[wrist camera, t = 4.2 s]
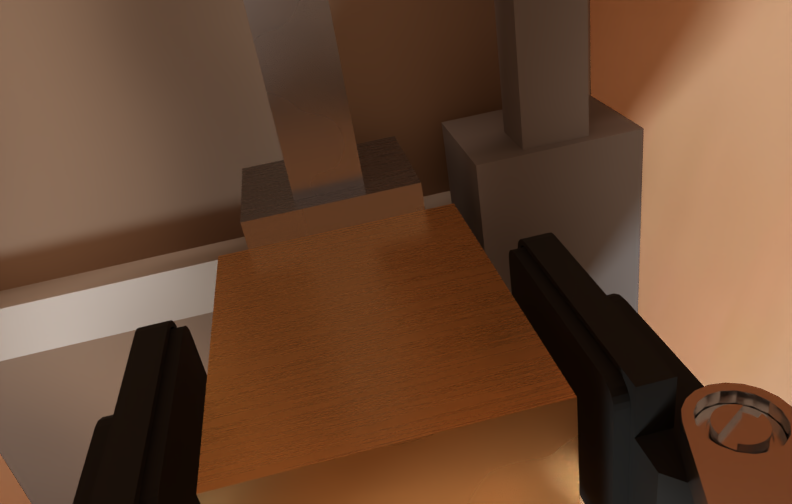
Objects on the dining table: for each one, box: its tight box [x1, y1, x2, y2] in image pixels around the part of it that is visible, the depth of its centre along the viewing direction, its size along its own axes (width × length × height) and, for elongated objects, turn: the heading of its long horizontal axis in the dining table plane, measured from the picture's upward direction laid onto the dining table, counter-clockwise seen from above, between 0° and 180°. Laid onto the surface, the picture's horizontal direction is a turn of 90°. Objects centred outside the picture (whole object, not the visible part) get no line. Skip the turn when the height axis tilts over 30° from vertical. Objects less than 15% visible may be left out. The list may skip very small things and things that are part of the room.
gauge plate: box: [0, 0, 643, 504], centre depth 13 cm, size 15×20×5 cm
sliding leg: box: [196, 0, 580, 504], centre depth 10 cm, size 4×12×8 cm, turn 8°
